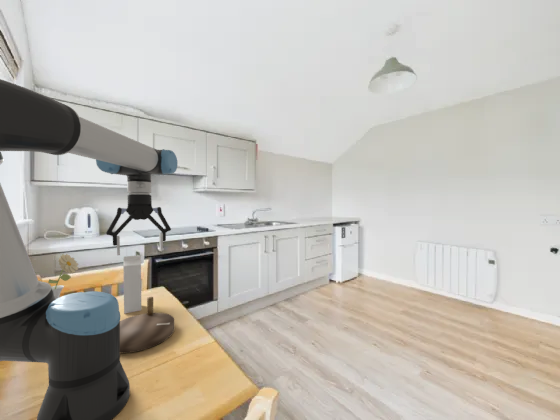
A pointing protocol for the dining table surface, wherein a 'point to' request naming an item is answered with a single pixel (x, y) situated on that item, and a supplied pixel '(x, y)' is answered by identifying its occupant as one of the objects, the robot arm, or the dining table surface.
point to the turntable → (145, 330)
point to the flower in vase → (69, 267)
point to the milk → (132, 283)
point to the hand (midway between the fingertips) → (140, 252)
